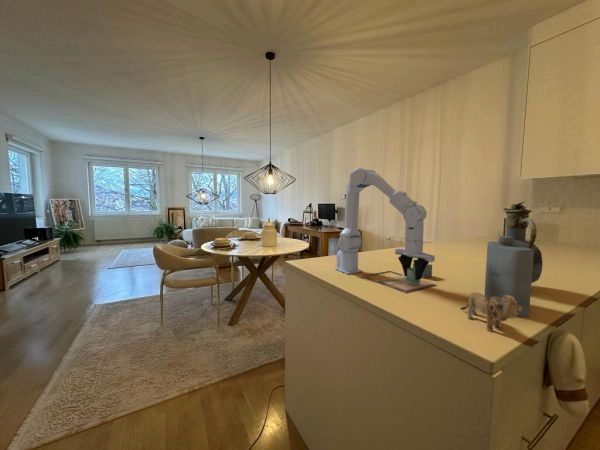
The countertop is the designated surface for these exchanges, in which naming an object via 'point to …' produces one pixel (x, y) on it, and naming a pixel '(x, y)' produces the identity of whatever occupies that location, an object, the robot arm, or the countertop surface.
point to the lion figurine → (493, 308)
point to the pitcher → (524, 234)
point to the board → (401, 283)
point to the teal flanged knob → (411, 276)
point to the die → (426, 271)
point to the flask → (509, 272)
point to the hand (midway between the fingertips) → (412, 277)
